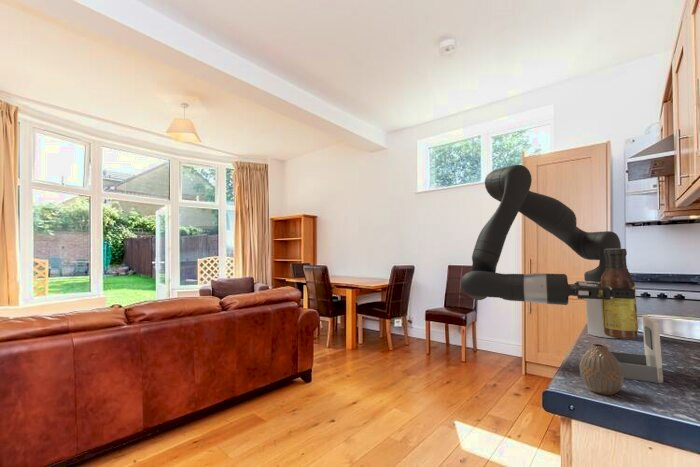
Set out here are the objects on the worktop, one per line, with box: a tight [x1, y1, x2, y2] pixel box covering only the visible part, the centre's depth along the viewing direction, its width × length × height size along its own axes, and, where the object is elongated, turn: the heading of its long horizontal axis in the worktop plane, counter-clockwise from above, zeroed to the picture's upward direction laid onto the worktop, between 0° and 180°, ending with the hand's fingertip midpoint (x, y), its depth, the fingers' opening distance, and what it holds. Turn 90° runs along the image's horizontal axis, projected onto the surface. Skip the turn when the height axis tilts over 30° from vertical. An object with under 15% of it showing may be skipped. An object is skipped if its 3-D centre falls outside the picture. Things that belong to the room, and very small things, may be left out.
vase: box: [578, 343, 625, 396], centre depth 66 cm, size 7×7×9 cm
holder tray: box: [609, 314, 664, 384], centre depth 76 cm, size 10×11×12 cm
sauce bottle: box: [601, 248, 639, 340], centre depth 76 cm, size 6×6×20 cm
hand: (631, 292), depth 75 cm, fingers closed on sauce bottle, 6 cm apart
